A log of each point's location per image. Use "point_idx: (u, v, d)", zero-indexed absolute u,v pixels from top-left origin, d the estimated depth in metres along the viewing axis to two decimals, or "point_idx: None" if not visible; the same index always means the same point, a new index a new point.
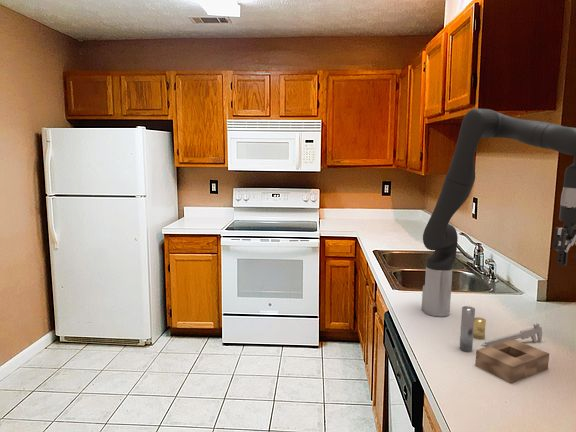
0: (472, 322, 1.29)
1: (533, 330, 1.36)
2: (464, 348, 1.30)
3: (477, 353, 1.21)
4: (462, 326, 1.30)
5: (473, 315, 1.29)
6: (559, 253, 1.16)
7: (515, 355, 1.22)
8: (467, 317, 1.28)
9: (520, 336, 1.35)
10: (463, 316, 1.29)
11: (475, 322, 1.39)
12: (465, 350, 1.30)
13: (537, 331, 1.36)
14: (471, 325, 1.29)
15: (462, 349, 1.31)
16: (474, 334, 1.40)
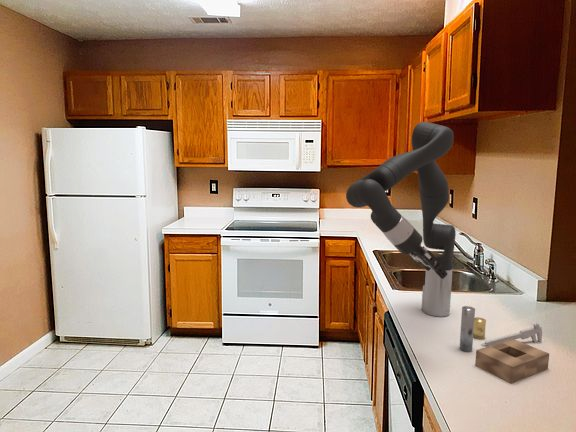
0: (472, 322, 1.29)
1: (533, 330, 1.36)
2: (464, 348, 1.30)
3: (477, 353, 1.21)
4: (462, 326, 1.30)
5: (473, 315, 1.29)
6: None
7: (515, 355, 1.22)
8: (467, 317, 1.28)
9: (520, 336, 1.35)
10: (463, 316, 1.29)
11: (475, 322, 1.39)
12: (465, 350, 1.30)
13: (537, 331, 1.36)
14: (471, 325, 1.29)
15: (462, 349, 1.31)
16: (474, 334, 1.40)
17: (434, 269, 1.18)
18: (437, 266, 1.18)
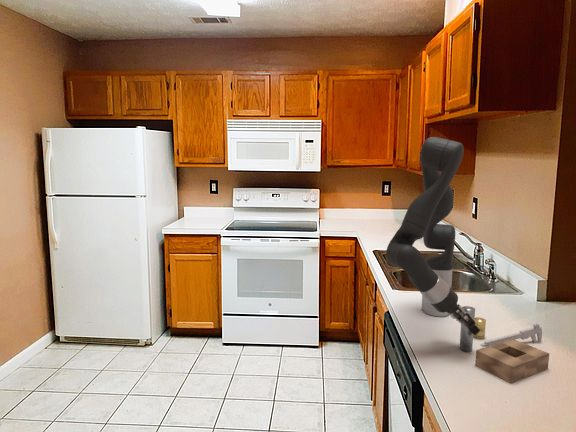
0: None
1: (533, 330, 1.36)
2: (464, 348, 1.30)
3: (477, 353, 1.21)
4: (462, 326, 1.30)
5: (473, 315, 1.29)
6: None
7: (515, 355, 1.22)
8: None
9: (520, 336, 1.35)
10: None
11: (475, 322, 1.39)
12: (465, 350, 1.30)
13: (537, 331, 1.36)
14: None
15: (462, 349, 1.31)
16: None
17: (468, 327, 1.26)
18: (471, 325, 1.25)
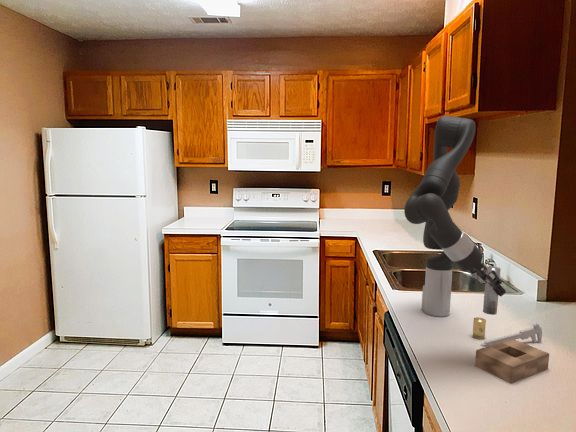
0: None
1: (533, 330, 1.36)
2: (488, 310, 1.22)
3: (477, 353, 1.21)
4: (486, 287, 1.22)
5: (498, 275, 1.21)
6: None
7: (515, 355, 1.22)
8: None
9: (520, 336, 1.35)
10: None
11: (475, 322, 1.39)
12: (489, 313, 1.22)
13: (537, 331, 1.36)
14: None
15: (486, 312, 1.23)
16: (474, 334, 1.40)
17: (493, 287, 1.18)
18: (497, 284, 1.17)
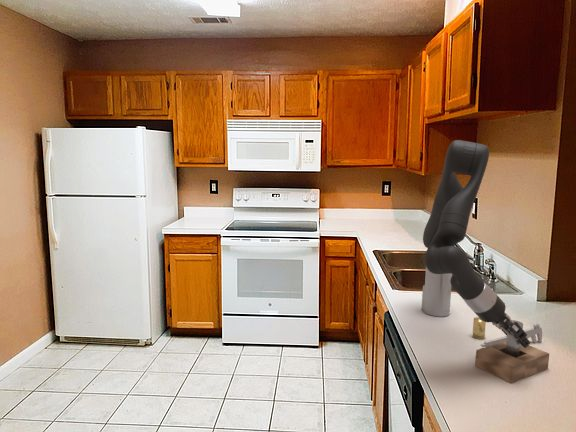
0: None
1: (533, 330, 1.36)
2: None
3: (477, 353, 1.21)
4: (508, 342, 1.19)
5: None
6: None
7: None
8: None
9: None
10: None
11: (475, 322, 1.39)
12: None
13: (537, 331, 1.36)
14: None
15: None
16: (474, 334, 1.40)
17: (518, 340, 1.14)
18: (522, 337, 1.13)
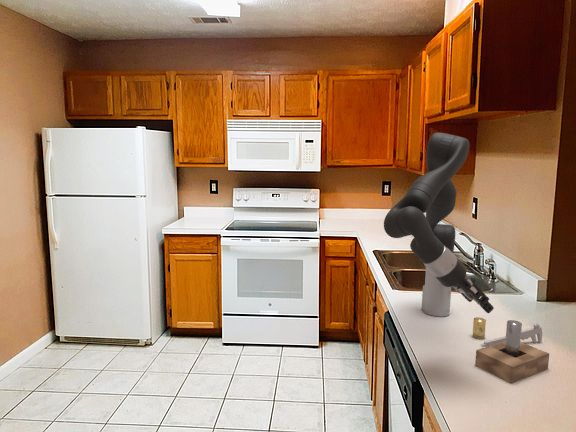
0: (519, 338, 1.18)
1: (533, 331, 1.36)
2: None
3: (477, 353, 1.21)
4: (507, 342, 1.19)
5: (520, 330, 1.18)
6: None
7: None
8: (514, 333, 1.18)
9: None
10: (508, 331, 1.19)
11: (475, 322, 1.39)
12: None
13: (537, 332, 1.36)
14: (517, 341, 1.18)
15: None
16: (474, 334, 1.40)
17: (480, 304, 1.09)
18: (484, 301, 1.09)
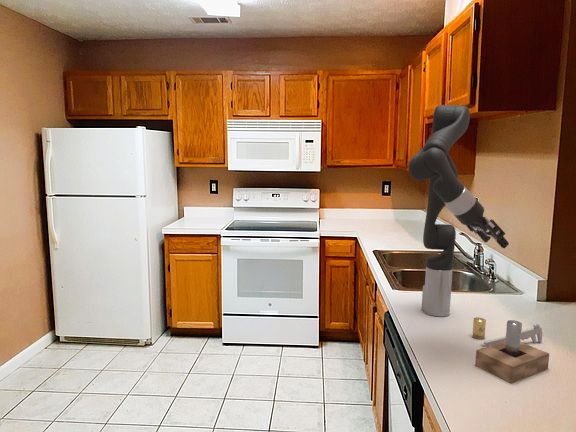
0: (519, 338, 1.18)
1: (533, 331, 1.35)
2: None
3: (477, 353, 1.21)
4: (507, 342, 1.19)
5: (520, 330, 1.18)
6: None
7: None
8: (514, 333, 1.18)
9: None
10: (509, 331, 1.19)
11: (475, 322, 1.39)
12: None
13: (537, 332, 1.36)
14: (517, 341, 1.18)
15: None
16: (474, 334, 1.40)
17: (497, 238, 1.21)
18: (500, 235, 1.20)
